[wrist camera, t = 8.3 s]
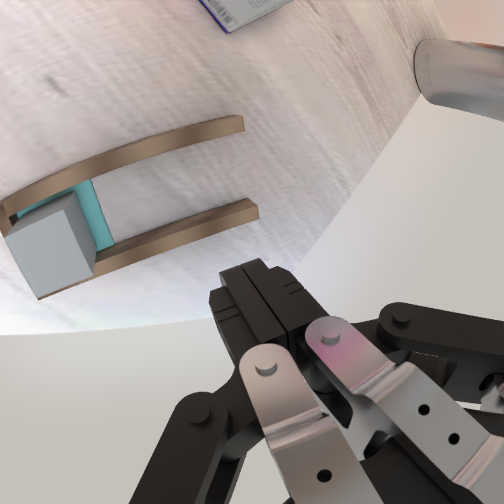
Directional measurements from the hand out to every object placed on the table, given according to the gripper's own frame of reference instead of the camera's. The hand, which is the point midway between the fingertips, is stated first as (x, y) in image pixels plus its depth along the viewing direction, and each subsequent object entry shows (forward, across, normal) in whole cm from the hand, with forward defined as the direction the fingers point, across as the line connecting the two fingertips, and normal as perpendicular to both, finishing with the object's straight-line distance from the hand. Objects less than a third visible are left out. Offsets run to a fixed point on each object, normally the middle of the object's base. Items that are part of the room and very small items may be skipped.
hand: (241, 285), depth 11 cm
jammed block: (+14, +10, 0) cm, 18 cm away
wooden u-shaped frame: (+14, +4, 0) cm, 15 cm away
